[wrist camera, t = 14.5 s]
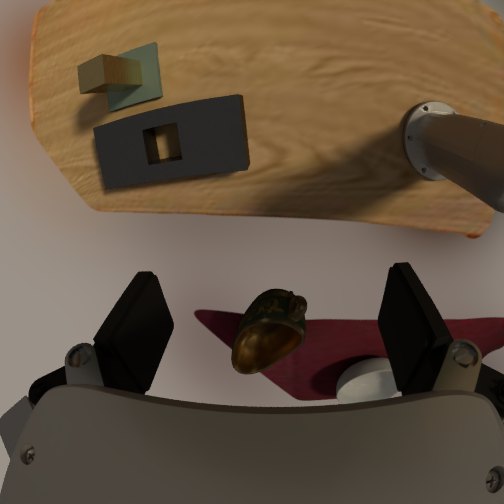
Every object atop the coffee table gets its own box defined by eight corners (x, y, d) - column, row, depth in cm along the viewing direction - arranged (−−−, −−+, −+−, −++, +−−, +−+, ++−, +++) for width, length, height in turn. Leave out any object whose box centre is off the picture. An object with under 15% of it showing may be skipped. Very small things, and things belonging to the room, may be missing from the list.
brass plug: (140, 60, 29) (102, 53, 21) (143, 84, 31) (105, 83, 23) (118, 69, 30) (77, 66, 21) (120, 92, 32) (80, 94, 23)
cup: (332, 312, 50) (339, 353, 41) (249, 347, 57) (243, 385, 49) (299, 265, 45) (301, 305, 37) (210, 310, 53) (197, 349, 44)
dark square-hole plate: (242, 95, 33) (238, 94, 29) (250, 163, 37) (247, 170, 34) (107, 124, 35) (93, 128, 32) (118, 181, 40) (106, 189, 37)
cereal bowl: (410, 350, 55) (418, 372, 49) (376, 387, 63) (380, 408, 57) (353, 343, 54) (359, 368, 48) (323, 382, 63) (324, 405, 57)
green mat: (156, 43, 29) (154, 42, 28) (162, 96, 33) (160, 96, 32) (107, 61, 30) (104, 60, 29) (112, 111, 34) (110, 111, 34)
